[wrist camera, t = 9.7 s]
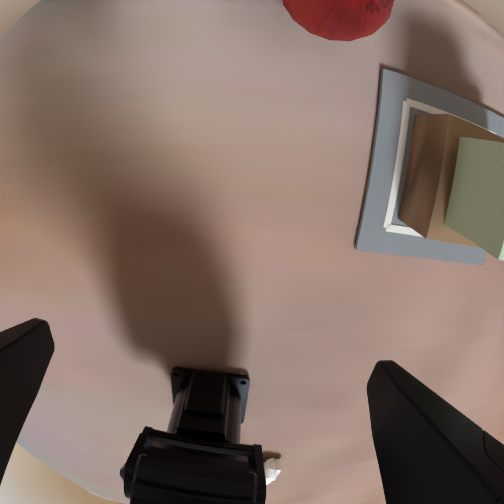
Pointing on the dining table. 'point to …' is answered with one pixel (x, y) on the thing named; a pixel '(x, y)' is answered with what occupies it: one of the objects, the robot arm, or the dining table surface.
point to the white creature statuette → (272, 469)
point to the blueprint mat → (396, 163)
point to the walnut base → (435, 174)
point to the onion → (340, 17)
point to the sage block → (479, 195)
